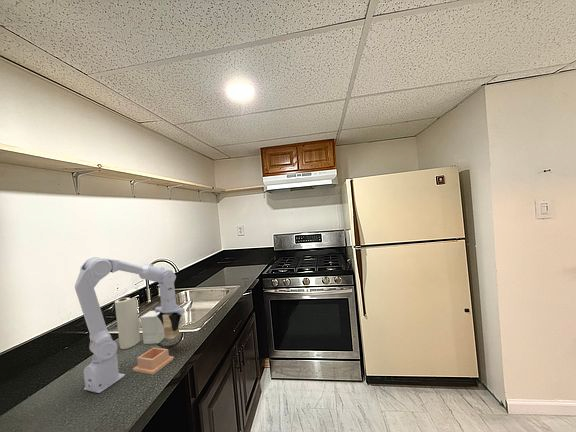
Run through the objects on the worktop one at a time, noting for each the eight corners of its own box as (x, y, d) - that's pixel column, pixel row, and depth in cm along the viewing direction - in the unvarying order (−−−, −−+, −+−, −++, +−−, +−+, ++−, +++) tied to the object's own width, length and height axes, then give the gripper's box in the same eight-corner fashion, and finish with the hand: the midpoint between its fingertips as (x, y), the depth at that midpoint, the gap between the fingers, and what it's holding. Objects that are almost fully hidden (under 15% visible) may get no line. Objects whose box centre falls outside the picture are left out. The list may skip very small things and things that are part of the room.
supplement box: (167, 335, 127) (164, 309, 127) (158, 343, 120) (155, 316, 119) (152, 336, 128) (149, 310, 127) (143, 344, 120) (139, 317, 120)
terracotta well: (153, 374, 96) (151, 362, 96) (133, 371, 100) (131, 359, 100) (174, 359, 106) (172, 348, 105) (155, 356, 109) (154, 345, 109)
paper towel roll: (117, 350, 117) (111, 302, 116) (124, 343, 123) (118, 298, 122) (134, 348, 118) (129, 300, 117) (140, 341, 124) (135, 296, 123)
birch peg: (172, 339, 110) (169, 315, 110) (165, 338, 112) (162, 314, 112) (179, 334, 114) (177, 311, 114) (172, 333, 116) (169, 311, 115)
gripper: (188, 295, 114) (191, 326, 114) (162, 294, 119) (165, 324, 119) (176, 301, 107) (179, 334, 107) (149, 299, 112) (152, 331, 113)
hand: (171, 329), depth 113 cm, fingers closed on birch peg, 4 cm apart
